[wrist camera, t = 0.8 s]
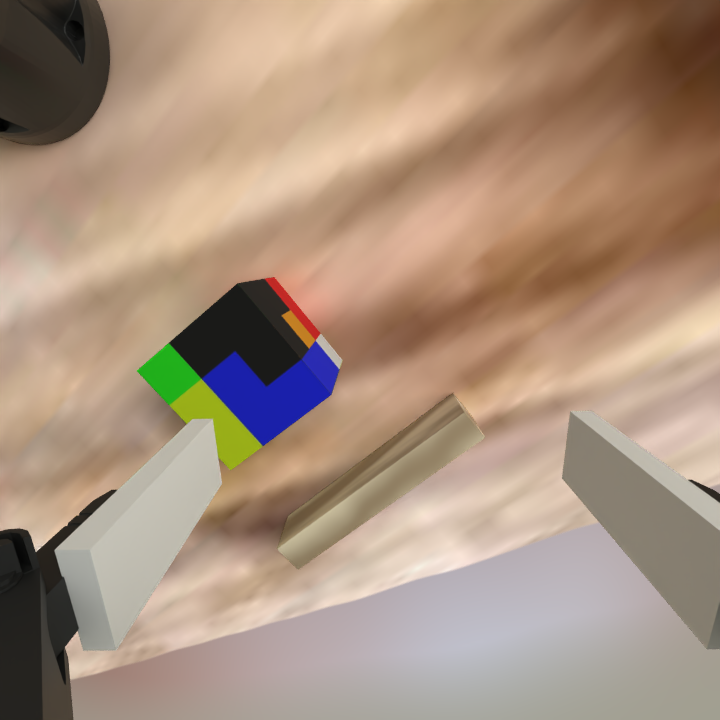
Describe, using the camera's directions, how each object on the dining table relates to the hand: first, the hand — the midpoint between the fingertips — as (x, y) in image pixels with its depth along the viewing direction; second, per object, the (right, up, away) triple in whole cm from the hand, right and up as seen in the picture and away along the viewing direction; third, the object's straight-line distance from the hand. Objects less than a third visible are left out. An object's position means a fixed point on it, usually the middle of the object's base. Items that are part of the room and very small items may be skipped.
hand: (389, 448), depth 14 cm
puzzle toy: (-10, +4, +24) cm, 26 cm away
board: (+1, -8, +26) cm, 27 cm away
